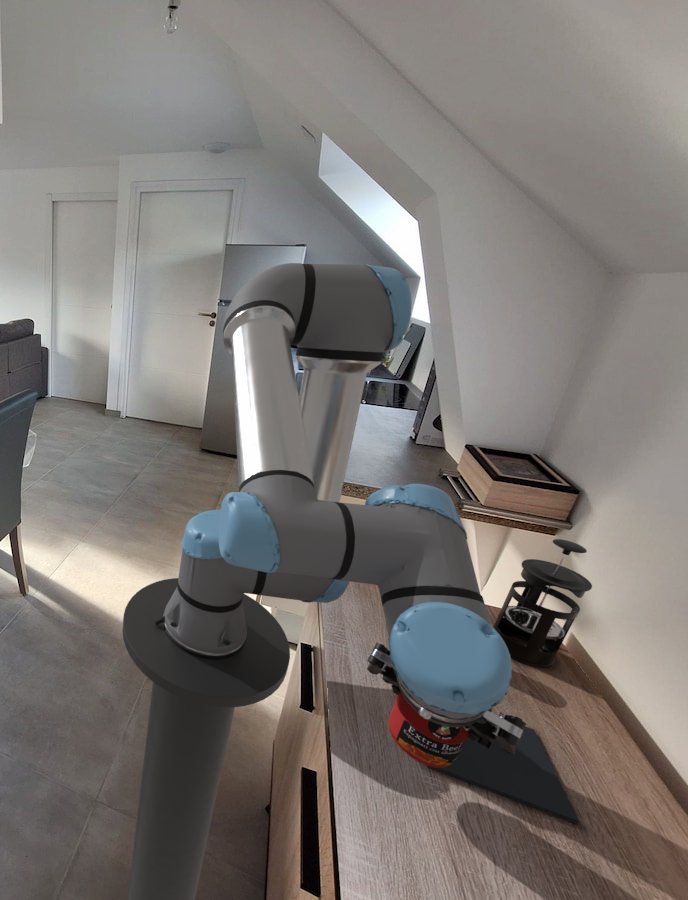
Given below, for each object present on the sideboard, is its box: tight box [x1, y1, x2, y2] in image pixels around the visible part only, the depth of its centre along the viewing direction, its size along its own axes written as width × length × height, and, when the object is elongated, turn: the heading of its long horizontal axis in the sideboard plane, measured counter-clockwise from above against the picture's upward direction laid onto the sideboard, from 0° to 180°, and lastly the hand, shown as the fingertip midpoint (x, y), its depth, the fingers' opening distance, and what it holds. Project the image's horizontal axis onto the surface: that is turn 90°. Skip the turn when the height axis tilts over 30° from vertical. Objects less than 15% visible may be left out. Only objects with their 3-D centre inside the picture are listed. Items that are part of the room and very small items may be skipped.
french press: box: [492, 538, 593, 669], centre depth 82 cm, size 12×9×23 cm
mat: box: [427, 726, 580, 825], centre depth 66 cm, size 16×14×1 cm
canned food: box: [388, 690, 472, 768], centre depth 58 cm, size 8×8×11 cm
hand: (435, 706), depth 61 cm, fingers closed on canned food, 8 cm apart
